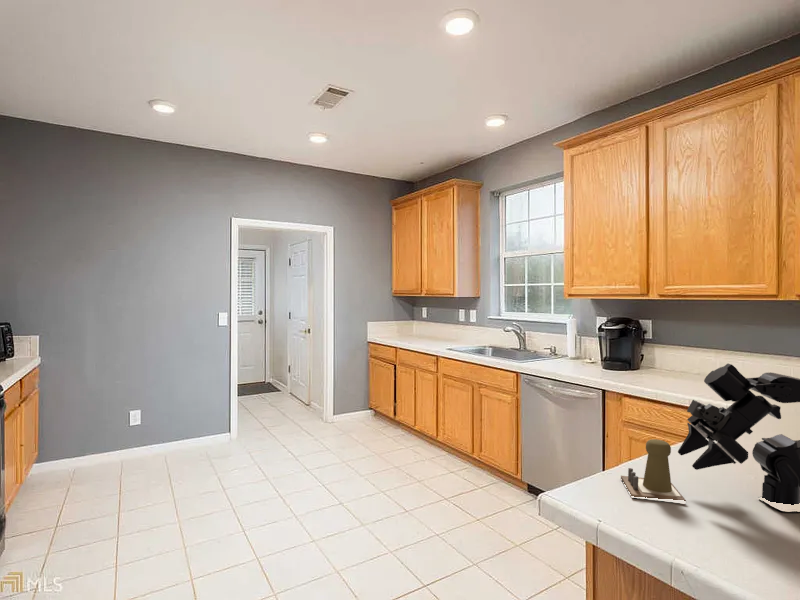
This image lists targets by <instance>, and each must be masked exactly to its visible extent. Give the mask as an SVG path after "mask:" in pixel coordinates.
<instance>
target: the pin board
mask: <svg viewBox="0 0 800 600" xmlns="http://www.w3.org/2000/svg"><path fill="white" fill-rule="evenodd" d="M627 473H628V474H627V475H628V476H627V475H620V480H621V479H622V481H623V482H624V484H625V485H626V487H627V489H628V491H629V492H630V494H631V496H634V497H645V498H646V497H647V498H658V499H673V500H684V501H686V502H687V500H686V499H685V497H684V495H682V494H681V493H680V491H679V490H678V489H677V488H676V486H675V485H674V484H673V483H672V482H671V486H672V491H671V492H668V493H661V492H655V491H652V490H649V489H647V488H645V487H644V486H643V480H644V477H639V476H638V475H636V472H634V469H633V468H631V467H628V469H627ZM622 481H621V482H622ZM624 484H623V485H624ZM628 491H627V492H628ZM631 496H630V497H631Z"/></svg>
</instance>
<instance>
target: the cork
mask: <svg viewBox="0 0 800 600" xmlns="http://www.w3.org/2000/svg"><path fill="white" fill-rule="evenodd" d="M645 451H646V452H647V458H646V463H645V469H644V475H643V478H644V480H643V486H644V487H645V488H647V489H649V490H652V491H655V492H661V493H668V492H671V491H672V486H671V483H672V479H671V472H670V462H669V456H671V453H672V447H671V445H670V443H669V442H667V441H665V440H661V439H656V438H655V439H651V438H650V439H649V440H647V441H646V442H645Z"/></svg>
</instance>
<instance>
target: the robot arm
mask: <svg viewBox="0 0 800 600" xmlns="http://www.w3.org/2000/svg"><path fill="white" fill-rule="evenodd" d="M703 381H704V384H706V386H708V387H709V388H710V389H711V390H712V391H713V392H715V394H717V395H718V397H720V398H721V399H722V400H723V401H725V402H733V403H732V404H731V405H729V406H728V407H727V408H725V407H718V406H715V405H713V404H711V403H708V404H704V403H702V402H700V401H698V400H695V399H692V401H691V403H690V404H689V406H688V408H687V409H686V413H690V415H691V416H690V417H688V418H687V419H686V421H688V422H687V423H686V424H687V425H686V426H688V432H687V433H688V434H687V435H686V437H685V439H684V441H683V442H682V444H681V445H680V447H679V449H678V450H677V453H678V454H679V455H680V456H684V455H687V454H690V453H693V452H695V451H697V450H700V449H702V448H704V447H707V446H708V447H707V449H705V451H704V452H703V453H702V454H701V455H700V456H699V457H698V458H696V460H695V461H694V463H692V465H691V466H692V468H693V469H694V470H696V471H697V470H702V469H706V468H711V467H715V466H717V467H718V466H722V465H728V464H730V465H731V464H734V465H735V464H737V463H739V464H740V465H742V464H743V463H745V462H746V461H747V460H748V459H749V452H748V450H747V449H745V448H744V447H743V445H741V444H740V443H739V442H738V441H737V440H738V439H740V437H741V436H743V435H744V434H745V433H746V434H748V435H751V434H752V433H753V432H754V431H753V430H752V428H753V427H754V426H755V425H757V424H758V423H759V422H760V421H762V420H763V419H764V418H765V417H766V416H768V415H769V416H771V417H773V418H774V419H777V420H781V419H782V413H781V406H780V405H777V404H771V402H769V400H767V399H766V398H768V399H771V400H772V401H775V402H778V403H781V404H791V403H793V404H794V403H800V378H798V377H794V376H790V375H785V374H780V373H775V372H764V373H762V375H760V376H758V377H745V376H744V375H743V373H741V372H739V370H738V369H737V368H736V367H735V366H734V365H733V364H732V363H726V364H724V366H720V367H718V368H716V369H714V370H712V371H710V372H709V373H708V374H706V376H705V378H704V380H703ZM753 391H754V392H756V393H759V394H761V395H756V394H754V393H753ZM765 397H766V398H765ZM752 457H753V459H754V460H755V461H756V463H757V464H759V466H760V468H761V470H762V471H763V472H765V473H766V474H763V475H764V476H763V482H762V484H761V485H762V487H761V488H762V490H761V497H762V498H765V499H766V500H768V501H770V502H776V503H783V504H791V505H794V504H799V503H800V439H798V440H793V439H792V438H789V437H788V436H786V435H785V434H782V433H781V434H777V435H774V436H771V437H762V438H761V441H758V442H756V443H755V444H754V447H753V448H752Z"/></svg>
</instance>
